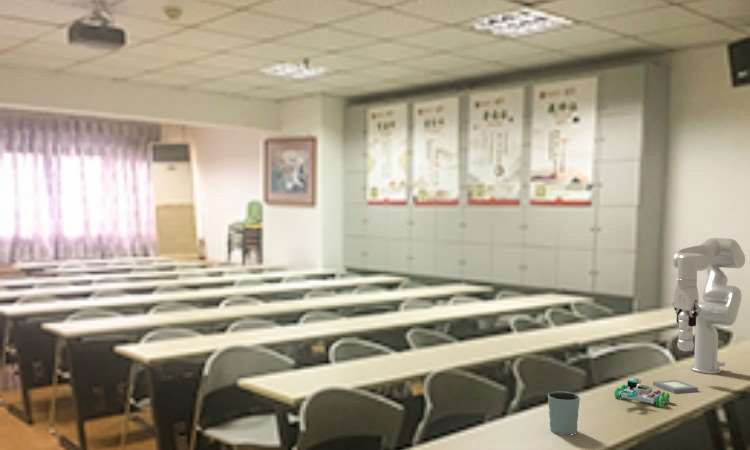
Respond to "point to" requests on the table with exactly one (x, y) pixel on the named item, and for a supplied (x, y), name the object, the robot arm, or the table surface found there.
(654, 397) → the robot kit
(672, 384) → the grey flat square slab
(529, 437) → the table surface
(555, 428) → the grey blue cup
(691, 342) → the plastic bottle
